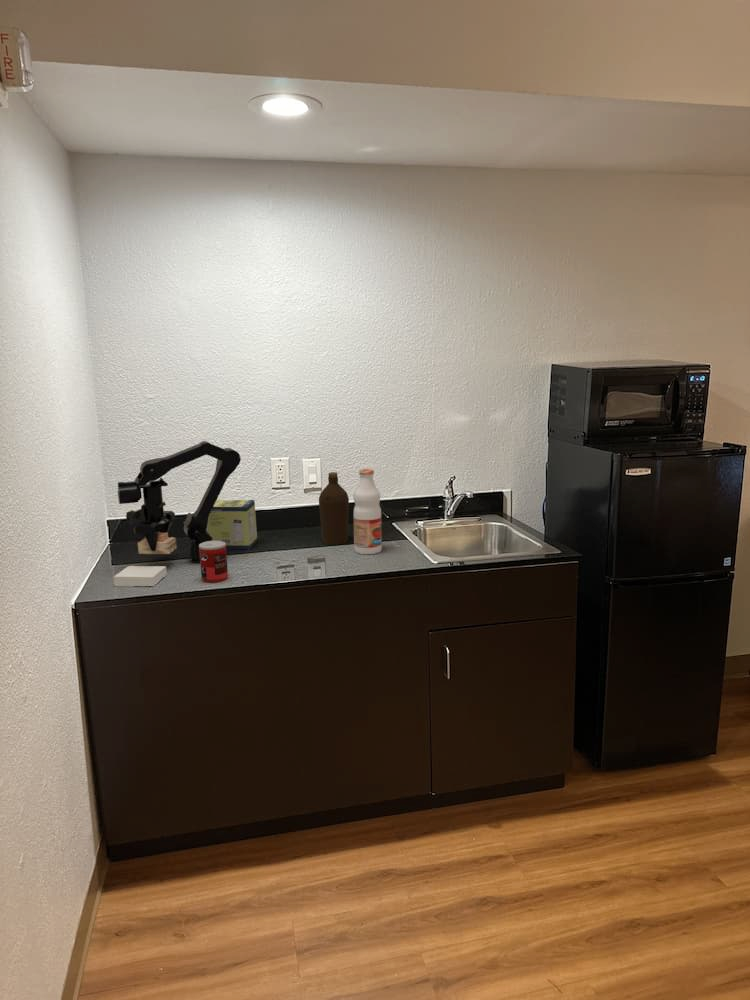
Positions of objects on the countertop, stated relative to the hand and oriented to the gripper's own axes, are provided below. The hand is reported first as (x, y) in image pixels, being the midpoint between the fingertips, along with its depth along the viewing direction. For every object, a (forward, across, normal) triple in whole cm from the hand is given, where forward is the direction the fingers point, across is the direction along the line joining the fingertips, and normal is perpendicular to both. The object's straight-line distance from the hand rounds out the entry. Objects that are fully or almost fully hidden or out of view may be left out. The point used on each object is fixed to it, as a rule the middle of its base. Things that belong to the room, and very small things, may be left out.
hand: (157, 547), depth 219 cm
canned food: (+6, +11, +22) cm, 26 cm away
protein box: (+6, -24, +17) cm, 30 cm away
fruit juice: (+6, -19, +66) cm, 69 cm away
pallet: (+1, 0, 0) cm, 1 cm away
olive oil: (+6, -30, +53) cm, 61 cm away
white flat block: (+6, +14, 0) cm, 15 cm away
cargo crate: (-2, 0, 0) cm, 2 cm away
